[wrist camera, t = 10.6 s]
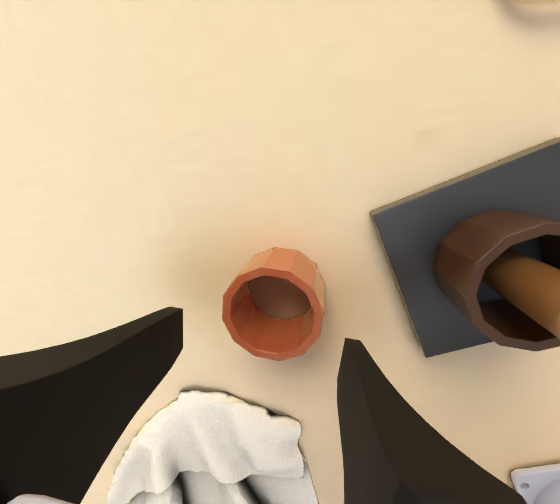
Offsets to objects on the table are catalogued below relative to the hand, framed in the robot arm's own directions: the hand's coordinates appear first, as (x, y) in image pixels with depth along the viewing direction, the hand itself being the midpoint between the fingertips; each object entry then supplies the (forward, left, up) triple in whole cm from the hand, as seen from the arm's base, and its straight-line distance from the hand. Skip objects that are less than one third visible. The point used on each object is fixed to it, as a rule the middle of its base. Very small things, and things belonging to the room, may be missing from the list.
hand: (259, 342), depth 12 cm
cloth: (-15, +14, -6) cm, 21 cm away
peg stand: (-2, -11, -6) cm, 13 cm away
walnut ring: (-2, -11, -5) cm, 12 cm away
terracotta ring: (0, 0, -6) cm, 6 cm away
